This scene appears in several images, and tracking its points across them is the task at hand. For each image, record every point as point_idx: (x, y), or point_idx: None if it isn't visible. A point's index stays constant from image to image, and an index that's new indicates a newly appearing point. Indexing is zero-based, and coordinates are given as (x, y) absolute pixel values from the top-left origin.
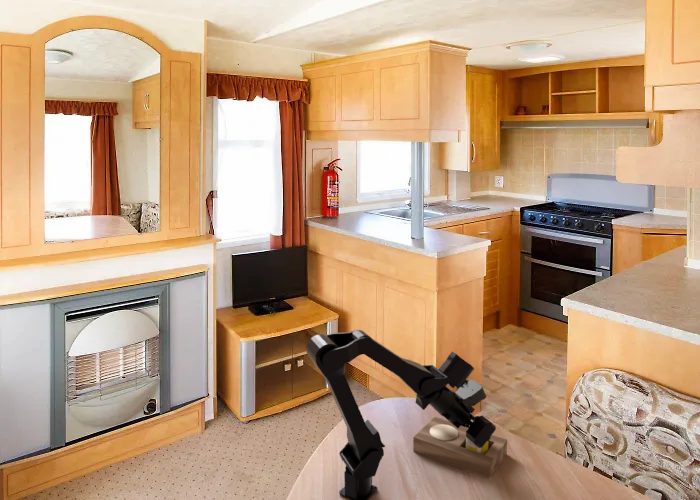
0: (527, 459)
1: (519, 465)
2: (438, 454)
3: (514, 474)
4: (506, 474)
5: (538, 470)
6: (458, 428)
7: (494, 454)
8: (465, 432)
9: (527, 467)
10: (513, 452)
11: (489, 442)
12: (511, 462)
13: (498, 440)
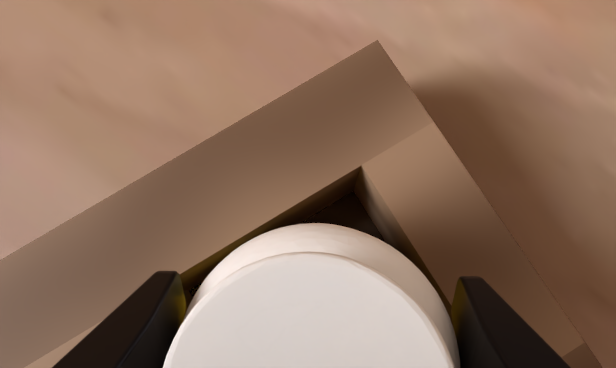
0: (470, 8)
1: (508, 97)
2: None
3: (583, 193)
4: (564, 244)
5: (599, 23)
6: (7, 341)
7: (535, 297)
8: (100, 320)
9: (546, 65)
10: (367, 39)
11: (320, 194)
12: (458, 124)
13: (354, 117)
